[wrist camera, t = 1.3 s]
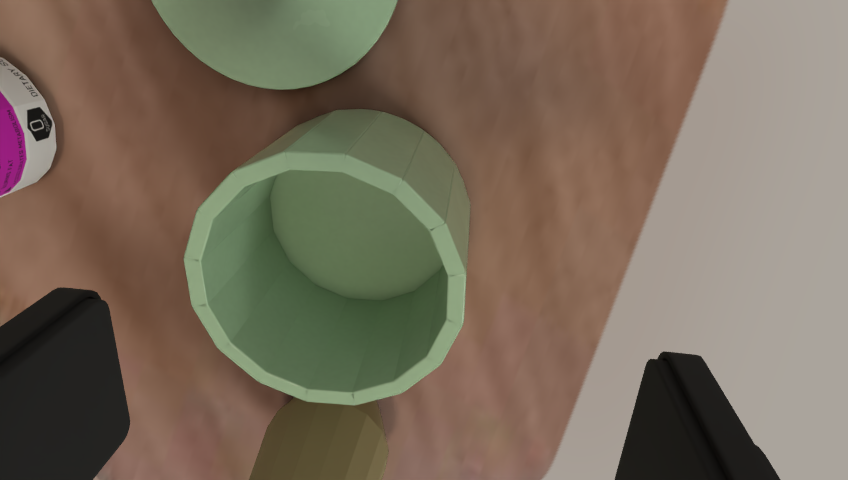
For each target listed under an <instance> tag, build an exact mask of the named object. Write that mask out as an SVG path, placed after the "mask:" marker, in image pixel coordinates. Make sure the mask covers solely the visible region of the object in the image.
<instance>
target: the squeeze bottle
mask: <svg viewBox="0 0 848 480" xmlns="http://www.w3.org/2000/svg"><path fill="white" fill-rule="evenodd" d="M388 452H389V450H388V446H387V441H386V436H385V432H384V427H383V423H382V418H381V414H380V410H379V407H378V404H377V401H376V400H374V401H370V402H367V403H363V404H359V405H343V404H330V403H317V402H306V400H305V401H303V400H301V399H298V398H296V397H294V398H293V399H292V400H291V401H290V402H288V403H287V404H286V405H285V406H283V407H282V408H281V409H280V410H279V411H278V412H277V413H276V415H275V416H274V418H273V419H272V421H271V422H270V424H269V425H268V427H267V430H266V433H265V436H264V439H263V441H262V444H261V447H260V450H259V453H258V456H257V459H256V462H255V464H254V467H253V470H252V473H251V476H250V479H249V480H382V477H383V474H384V471H385V468H386V462H387V457H388Z"/></svg>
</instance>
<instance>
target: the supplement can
mask: <svg viewBox="0 0 848 480" xmlns="http://www.w3.org/2000/svg"><path fill="white" fill-rule="evenodd" d="M56 148H57V147H56V134H55V124H54V121H53V119H52V116H51V114H50V112H49V109H48V107H47V104H46V102H45V99H44V98H43V97H42V95H41V94H40V93H39V91H38V90H37V89H36V88H35V86H34V85H33V84H32V82H31V81H30V80H29V78H28V77H27V76H26V75H25V74H23V73H22V72H21V71H19V70H18V69H17V68H16V67H14V66H13V65H12V64H10V63H9V62H8V61H6V60H5V59H4V58H1V57H0V197H3V196H5V195H7V194H10V193H12V192H14V191H17V190H19V189H22V188H24V187H26V186H29V185H31V184H33V183H36V182H37V181H38V180H39V179H40V178H41V177H42V176H43V175H44V174H45V173H46V172H47V171H48V170H49V169H50V167H51V164H52V161H53V158H54V155H55V152H56Z"/></svg>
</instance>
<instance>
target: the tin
mask: <svg viewBox="0 0 848 480" xmlns="http://www.w3.org/2000/svg"><path fill="white" fill-rule="evenodd" d="M470 206H471V205H470V200H469V198H468V195H467V191H466V188H465V185H464V181H463V179H462V177H461V175H460V173H459V170H458V168H457V166H456V164H455V163H454V161H453V160H452V159H451V157H450V156H449V155H448V153H447V152H446V151H445V150H444V149H443V147H442V146H441V145H440V144H439V143H438V142H437V141H436V140H435V139H434V138H433V137H431V136H430V135H429V134H428V133H426V132H425V131H424V130H422V129H421V128H419V127H418V126H416V125H414V124H412V123H411V122H409V121H407V120H405V119H403V118H400V117H397V116H395V115H392V114H389V113H385V112H381V111H376V110H367V109H345V110H337V111H336V110H335V111H332V112H330V113H327V114H324V115H320V116H318V117H316V118H314V119H312V120H309V121H307V122H304V123H302V124H299V125H297V126H296V127H294V128H293V129H292V130H290V131H289V132H287V133H286V134H284V135H283V136H282V137H280V138H279V139H277V140H276V141H275V142H273V143H272V144H270V145H269V146H267V147H266V148H265V149H263V150H262V151H260V152H259V153H258V154H256V155H255V156H253V157H252V158H250V159H249V160H248V161H246V162H245V163H243V164H242V165H240V166H239V167H238V168H236V169H235V170H233V171H232V172H231V173H230V174H229V175H228V176H227V177H226V178H225V179H224V180H223V181H222V182H221V184H220V185H219V186H218V187H217V188H216V189H215V190H214V191H213V192H212V193H211V194H210V195H209V197H208V198H207V199H206V200H205V201H204V202H203V203H202V204H201V205H200V206H199V207H198V210H197V211H196V215H195V218H194V222H193V225H192V229H191V233H190V236H189V240H188V244H187V247H186V251H185V254H184V264H185V270H186V276H187V282H188V288H189V293H190V299H191V305H192V307H193V309H194V311H195V312H196V314H197V315H198V317H199V319H200V320H201V322H202V324H203V325H204V327H205V329H206V330H207V332H208V333H209V335H210V337H211V338H212V340H213V342H214V343H215V345H216V347H217V348H218V349H219V350H220V351H221V352H222V353H224V354H225V355H226V356H227V357H228V358H230V359H231V360H232V361H233V362H234V363H236V364H237V365H238V366H239V367H240V368H242V369H243V370H244V371H245V372H246V373H248V374H249V375H250V376H251V377H253V378H254V379H255V380H256V381H259V383H261V384H264V385H266V386H269V387H271V388H274V389H276V390H279V391H281V392H284V393H286V394H289V395H291V396H294V397H296V398H298V399H301V400H303V401H305V400H306V402H317V403H330V404H343V405H359V404H363V403H367V402H370V401H374V400H378V399H382V398H386V397H390V396H393V395H397V394H401V393H402V392H404V391H406V390H407V389H409V388H410V387H411V386H413V385H414V384H415V383H417V382H418V381H419V380H421V379H422V378H423V377H425V376H426V375H428V374H429V373H430V372H432V371H433V370H434V369H436V368H437V367H438V366H439V365H441V364H442V362H443V360H444V358H445V356H446V355H447V353H448V351H449V349H450V347H451V346H452V344H453V342H454V340H455V338H456V337H457V335H458V333H459V331H460V329H461V328H462V326H463V322H464V311H465V294H466V277H467V260H468V244H469V225H470Z"/></svg>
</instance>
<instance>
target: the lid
mask: <svg viewBox="0 0 848 480" xmlns="http://www.w3.org/2000/svg"><path fill="white" fill-rule="evenodd" d="M151 1H152V3H153V4H154V6H155V8H156V9H157V11H158V13H159V15H160V16H161V18H162V20H163V21H164V22H165V24H166V25H167V26H168V28H169V29H170V30H171V32H172V33H173V34H174V35H175V37H176V38H177V39H178V40H179V41H180V42H181V43H182V44H183V45H184V46H185V47H186V48H187V49H188V50H189V51H190V52H191V53H192V54H194V55H195V56H196V57H197V58H198V59H199V60H201V61H202V62H203V63H205V64H206V65H208V66H209V67H211V68H212V69H214V70H215V71H217V72H219V73H221V74H223V75H225V76H227V77H229V78H231V79H233V80H236V81H238V82H241V83H244V84H247V85H251V86H255V87H259V88H265V89H275V90H289V89H299V88H305V87H310V86H313V85H316V84H319V83H322V82H325V81H328V80H330V79H332V78H334V77H336V76H338V75H340V74H341V73H343V72H344V71H346V70H347V69H349V68H350V67H352V66H353V65H355V64H356V63H357V62H358V61H359V60H360V59H361V58H362V57H363V56H365V55H366V54H367V53H368V52H369V50H370V49H371V48H372V47H373V45H374V44H375V43H376V42H377V41H378V39H379V38H380V36H381V35H382V33H383V31H384V30H385V28H386V27H387V25H388V23H389V21H390V19H391V16H392V14H393V12H394V10H395V8H396V5H397V1H398V0H151Z"/></svg>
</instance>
